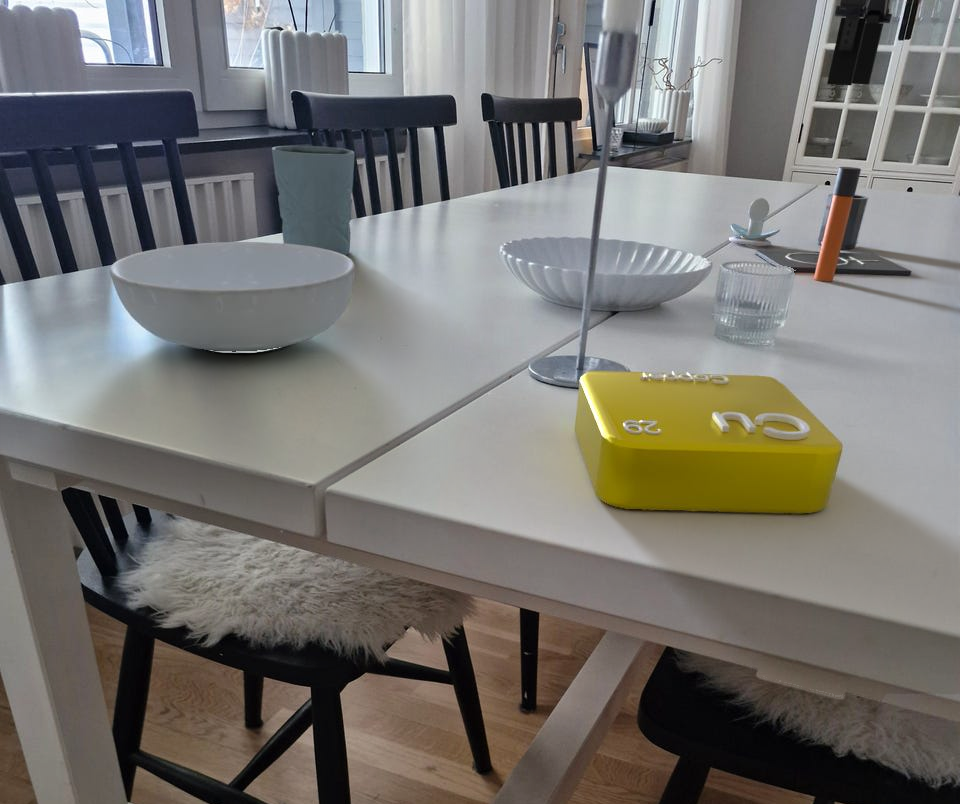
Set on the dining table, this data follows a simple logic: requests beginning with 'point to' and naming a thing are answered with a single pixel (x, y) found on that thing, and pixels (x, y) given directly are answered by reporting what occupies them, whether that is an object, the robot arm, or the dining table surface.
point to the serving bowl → (235, 293)
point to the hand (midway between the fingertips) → (848, 84)
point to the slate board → (845, 263)
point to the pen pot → (852, 223)
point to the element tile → (703, 443)
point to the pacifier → (754, 226)
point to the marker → (836, 222)
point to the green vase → (315, 195)
